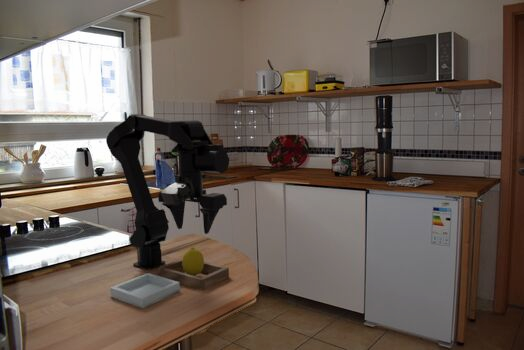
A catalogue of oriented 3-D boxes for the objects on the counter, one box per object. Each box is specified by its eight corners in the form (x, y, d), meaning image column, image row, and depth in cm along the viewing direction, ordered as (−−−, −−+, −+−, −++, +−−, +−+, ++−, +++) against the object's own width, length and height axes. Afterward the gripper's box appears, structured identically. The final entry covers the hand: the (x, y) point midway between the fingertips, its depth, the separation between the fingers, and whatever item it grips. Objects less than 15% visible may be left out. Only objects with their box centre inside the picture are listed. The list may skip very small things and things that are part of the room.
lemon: (200, 281, 110) (199, 251, 108) (179, 280, 111) (178, 250, 110) (207, 273, 115) (206, 244, 114) (187, 272, 116) (186, 243, 115)
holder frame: (158, 277, 113) (158, 267, 113) (185, 265, 121) (185, 257, 121) (202, 290, 104) (202, 280, 104) (228, 277, 112) (228, 267, 112)
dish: (110, 296, 101) (110, 287, 101) (148, 281, 110) (148, 272, 110) (142, 308, 95) (142, 298, 95) (179, 291, 104) (179, 282, 104)
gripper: (140, 172, 108) (143, 233, 110) (196, 177, 98) (199, 244, 100) (172, 167, 117) (175, 224, 119) (227, 171, 107) (229, 233, 109)
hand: (192, 231), depth 112 cm, fingers open, 9 cm apart
